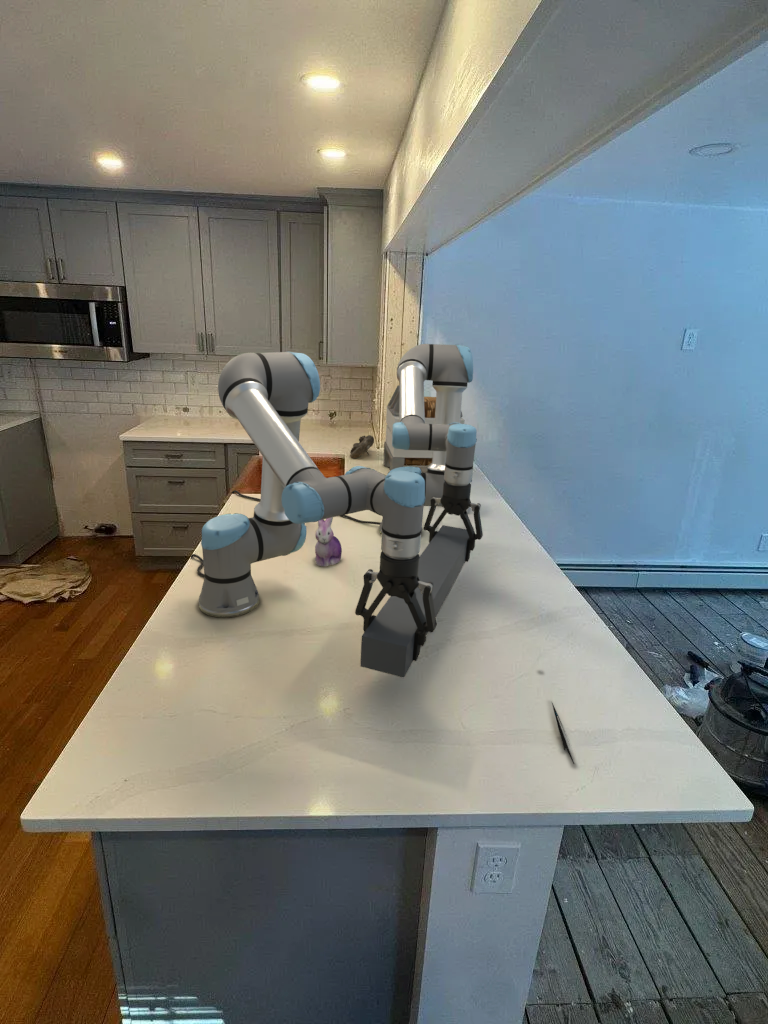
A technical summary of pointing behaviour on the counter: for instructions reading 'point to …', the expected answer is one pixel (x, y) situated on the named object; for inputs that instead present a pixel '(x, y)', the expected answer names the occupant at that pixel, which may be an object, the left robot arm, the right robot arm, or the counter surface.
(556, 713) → the feather
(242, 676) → the counter surface
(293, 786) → the counter surface
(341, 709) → the counter surface
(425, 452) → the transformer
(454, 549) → the thick board
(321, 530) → the figurine
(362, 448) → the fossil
